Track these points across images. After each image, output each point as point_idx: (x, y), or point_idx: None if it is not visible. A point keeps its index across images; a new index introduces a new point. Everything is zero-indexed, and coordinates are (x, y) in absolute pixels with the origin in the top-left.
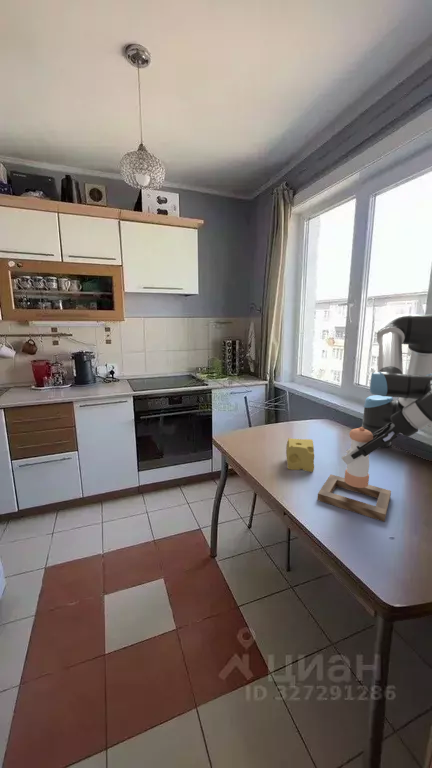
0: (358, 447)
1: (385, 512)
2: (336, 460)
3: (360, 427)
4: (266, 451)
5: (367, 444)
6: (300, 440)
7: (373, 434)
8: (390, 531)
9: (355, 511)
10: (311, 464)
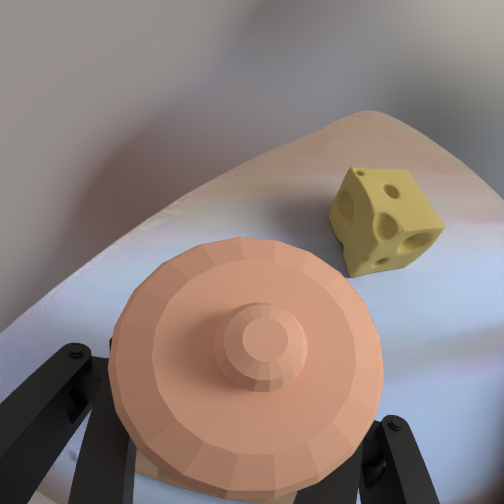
0: (110, 345)
1: (137, 471)
2: (448, 332)
3: (254, 313)
4: None
5: (41, 392)
6: (416, 196)
7: (396, 481)
8: None
9: None
10: (357, 259)
